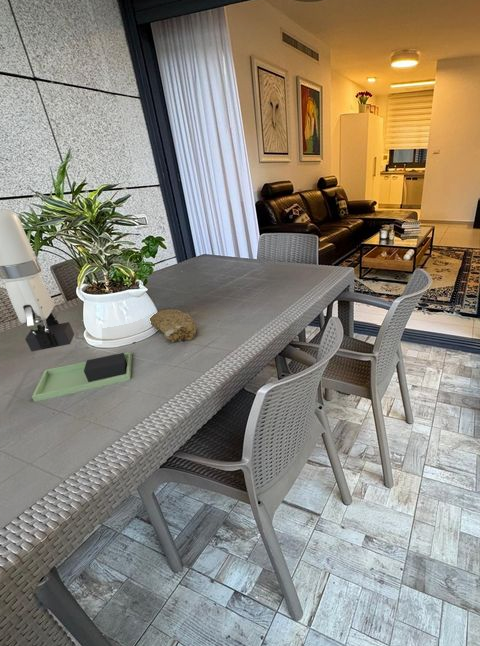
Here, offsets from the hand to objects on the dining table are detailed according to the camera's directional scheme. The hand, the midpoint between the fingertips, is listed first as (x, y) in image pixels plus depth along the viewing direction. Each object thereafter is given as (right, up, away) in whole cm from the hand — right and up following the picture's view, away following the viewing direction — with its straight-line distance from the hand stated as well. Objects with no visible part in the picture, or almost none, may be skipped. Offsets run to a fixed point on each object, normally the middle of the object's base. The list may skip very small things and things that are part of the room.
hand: (52, 340), depth 86 cm
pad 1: (0, 0, 0) cm, 1 cm away
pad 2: (+8, -8, +9) cm, 15 cm away
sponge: (+17, +3, +31) cm, 36 cm away
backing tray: (+4, -10, +8) cm, 13 cm away
